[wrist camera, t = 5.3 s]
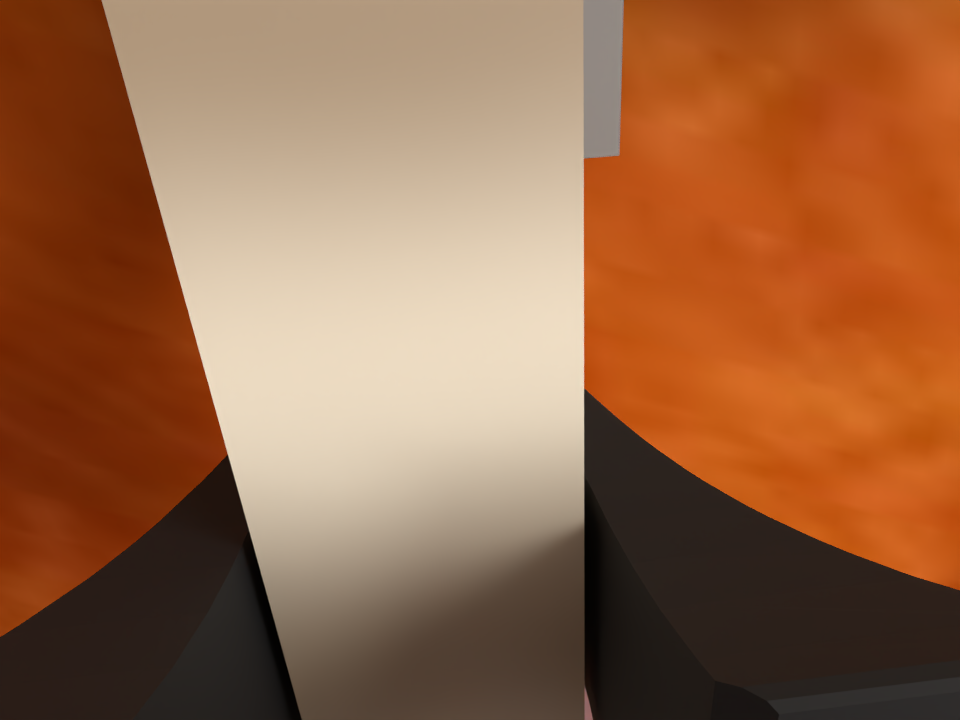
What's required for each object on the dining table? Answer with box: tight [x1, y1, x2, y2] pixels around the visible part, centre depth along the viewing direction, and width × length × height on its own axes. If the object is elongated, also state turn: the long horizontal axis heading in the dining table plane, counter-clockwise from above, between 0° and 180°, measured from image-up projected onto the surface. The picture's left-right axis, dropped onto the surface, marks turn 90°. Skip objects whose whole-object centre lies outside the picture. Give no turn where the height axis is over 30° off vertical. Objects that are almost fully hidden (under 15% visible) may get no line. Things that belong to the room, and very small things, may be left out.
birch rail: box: [102, 0, 585, 720], centre depth 10 cm, size 14×3×6 cm, turn 4°
